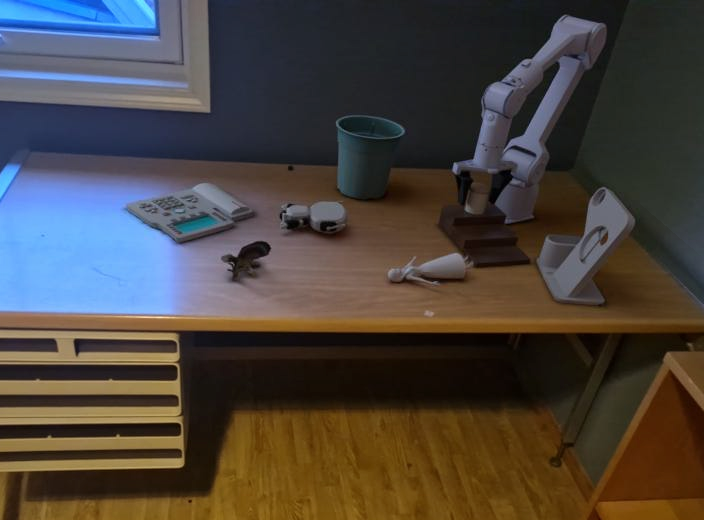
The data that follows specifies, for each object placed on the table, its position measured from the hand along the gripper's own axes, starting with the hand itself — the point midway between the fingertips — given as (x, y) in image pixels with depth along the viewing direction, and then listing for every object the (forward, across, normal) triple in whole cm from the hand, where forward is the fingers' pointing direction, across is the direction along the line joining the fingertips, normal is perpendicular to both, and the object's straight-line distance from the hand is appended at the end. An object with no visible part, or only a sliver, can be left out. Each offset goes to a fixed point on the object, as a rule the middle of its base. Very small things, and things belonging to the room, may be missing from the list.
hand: (476, 203), depth 149 cm
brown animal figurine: (+7, -55, -12) cm, 56 cm away
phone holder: (+7, +11, -24) cm, 27 cm away
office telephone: (+7, -61, +14) cm, 63 cm away
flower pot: (+7, -18, +24) cm, 31 cm away
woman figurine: (+7, -18, -19) cm, 27 cm away
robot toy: (+7, -36, +6) cm, 37 cm away
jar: (+2, 0, 0) cm, 2 cm away
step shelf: (+7, 0, -6) cm, 9 cm away
